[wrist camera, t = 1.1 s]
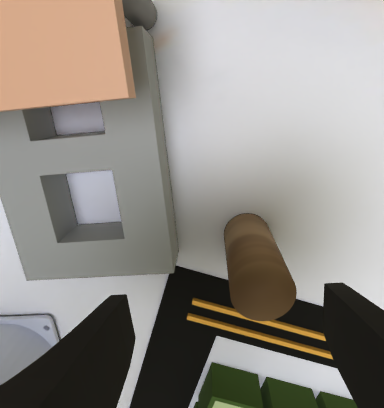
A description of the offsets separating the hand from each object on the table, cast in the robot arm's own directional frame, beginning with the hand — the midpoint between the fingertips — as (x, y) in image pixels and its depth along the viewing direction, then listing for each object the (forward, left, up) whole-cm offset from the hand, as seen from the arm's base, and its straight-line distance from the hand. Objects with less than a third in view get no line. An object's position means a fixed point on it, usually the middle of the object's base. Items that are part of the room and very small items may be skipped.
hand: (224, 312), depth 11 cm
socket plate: (+4, +8, -10) cm, 14 cm away
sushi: (-20, -3, -11) cm, 23 cm away
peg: (-2, -2, -10) cm, 11 cm away
